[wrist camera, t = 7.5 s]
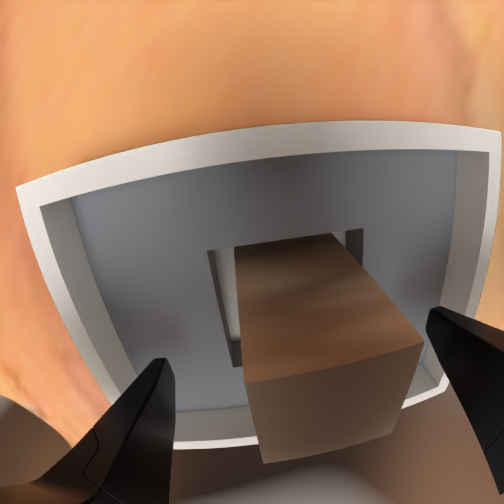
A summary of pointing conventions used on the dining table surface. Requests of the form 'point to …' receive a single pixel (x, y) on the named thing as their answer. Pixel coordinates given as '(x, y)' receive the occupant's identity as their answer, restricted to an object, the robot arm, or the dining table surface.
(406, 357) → the peg
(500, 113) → the dining table surface
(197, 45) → the dining table surface
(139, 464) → the robot arm
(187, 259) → the socket plate
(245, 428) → the tray
